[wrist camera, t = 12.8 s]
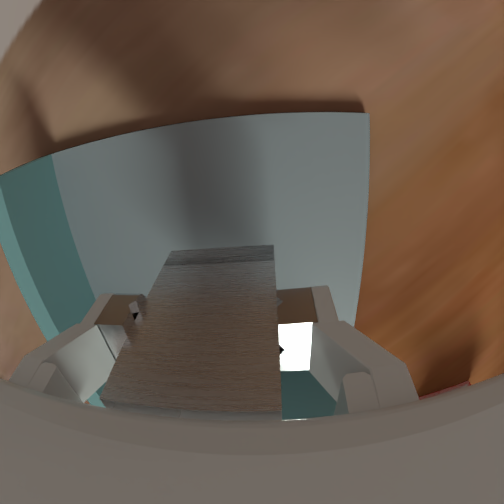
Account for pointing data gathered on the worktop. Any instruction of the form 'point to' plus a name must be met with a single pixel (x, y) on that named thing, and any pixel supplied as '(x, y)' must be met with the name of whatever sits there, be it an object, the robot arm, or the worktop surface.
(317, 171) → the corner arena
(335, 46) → the worktop surface
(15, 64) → the worktop surface
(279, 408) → the bracket
